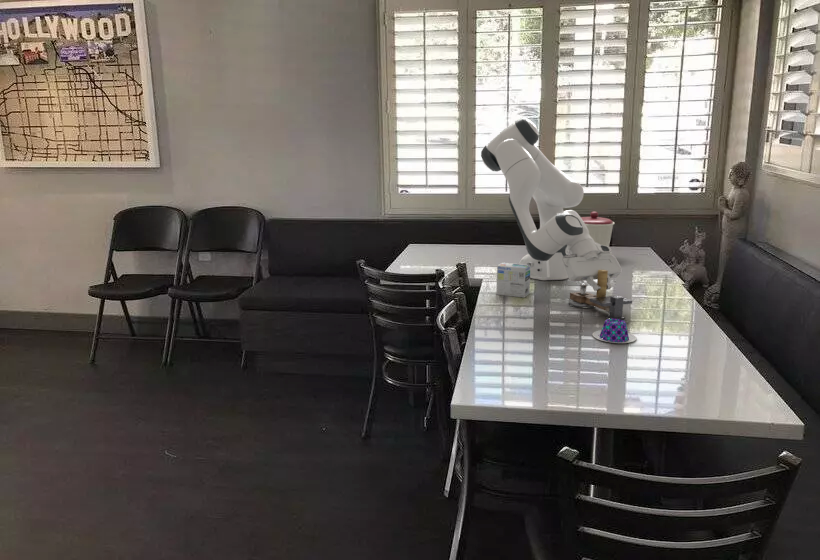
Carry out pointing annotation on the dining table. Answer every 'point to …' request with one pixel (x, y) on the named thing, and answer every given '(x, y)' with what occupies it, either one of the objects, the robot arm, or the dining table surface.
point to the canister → (599, 228)
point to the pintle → (582, 292)
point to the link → (601, 293)
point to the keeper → (612, 305)
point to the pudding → (614, 332)
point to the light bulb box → (513, 279)
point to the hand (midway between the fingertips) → (603, 289)
